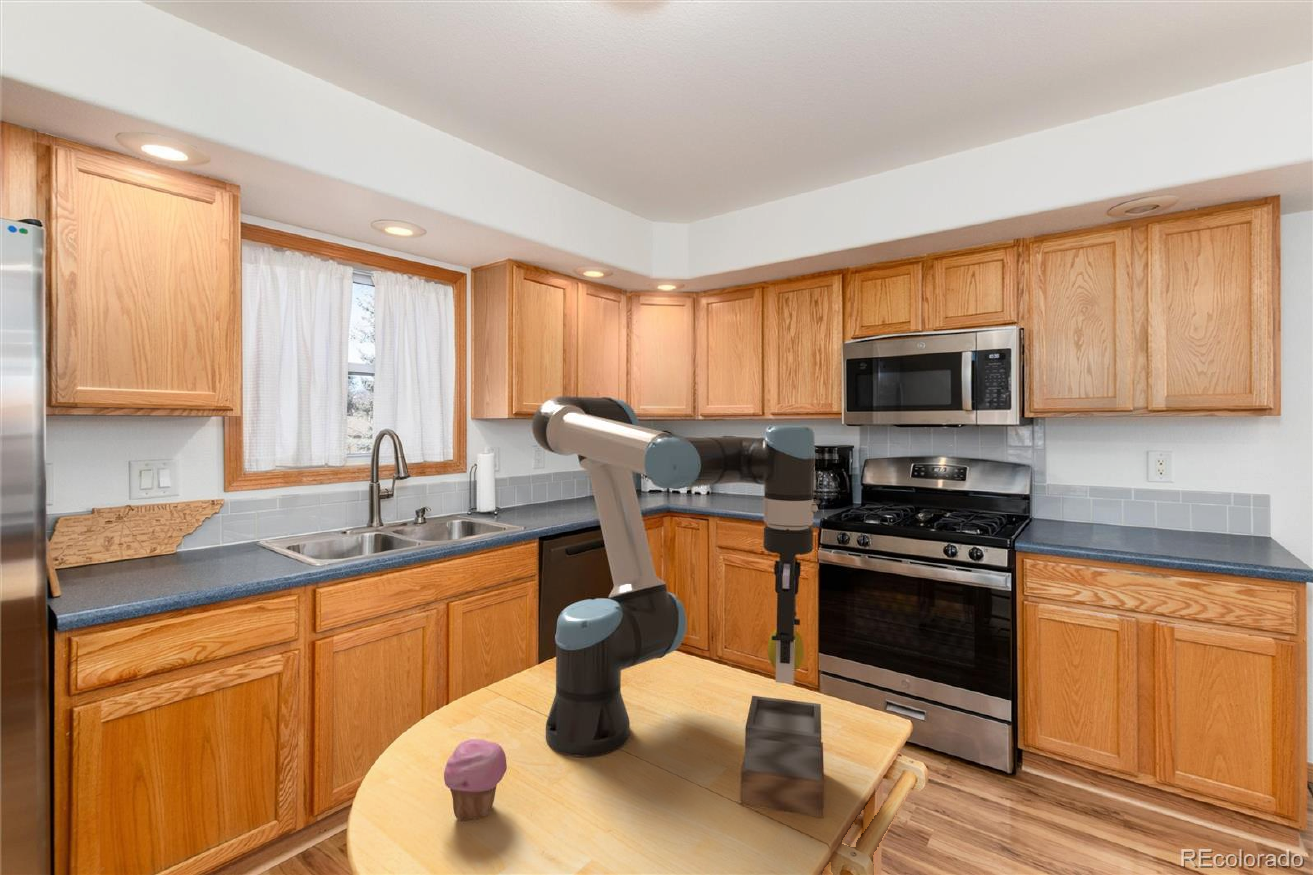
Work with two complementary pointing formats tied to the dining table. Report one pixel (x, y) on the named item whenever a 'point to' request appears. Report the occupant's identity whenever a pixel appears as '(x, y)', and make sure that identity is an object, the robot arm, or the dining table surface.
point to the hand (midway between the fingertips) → (785, 673)
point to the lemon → (798, 650)
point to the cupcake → (474, 777)
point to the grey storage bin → (783, 757)
